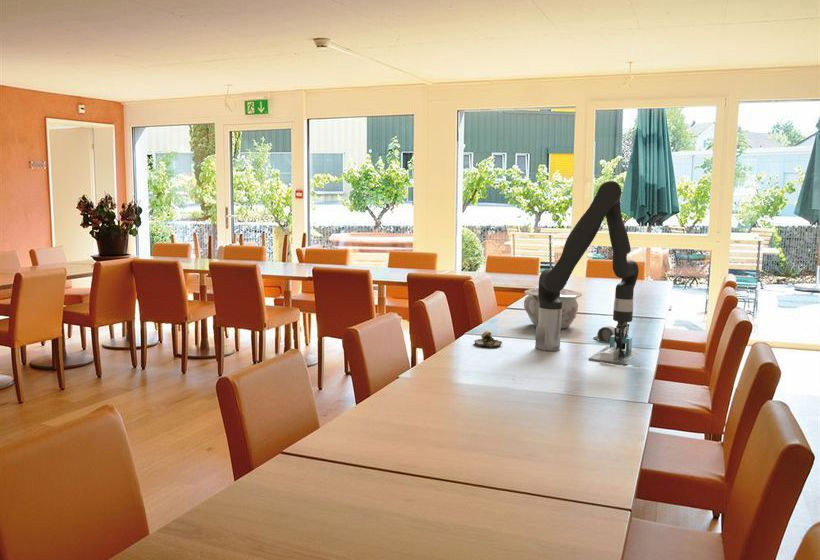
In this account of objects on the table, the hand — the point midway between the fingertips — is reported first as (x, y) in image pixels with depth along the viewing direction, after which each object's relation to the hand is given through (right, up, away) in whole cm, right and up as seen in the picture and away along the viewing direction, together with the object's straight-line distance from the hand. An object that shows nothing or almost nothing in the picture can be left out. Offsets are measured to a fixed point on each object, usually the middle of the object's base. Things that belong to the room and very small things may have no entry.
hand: (620, 350), depth 284 cm
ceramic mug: (0, +1, +22) cm, 22 cm away
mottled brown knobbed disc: (-53, +1, +9) cm, 54 cm away
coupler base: (-4, -2, -6) cm, 7 cm away
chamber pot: (-18, +6, +54) cm, 58 cm away
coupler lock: (0, 0, 0) cm, 0 cm away
